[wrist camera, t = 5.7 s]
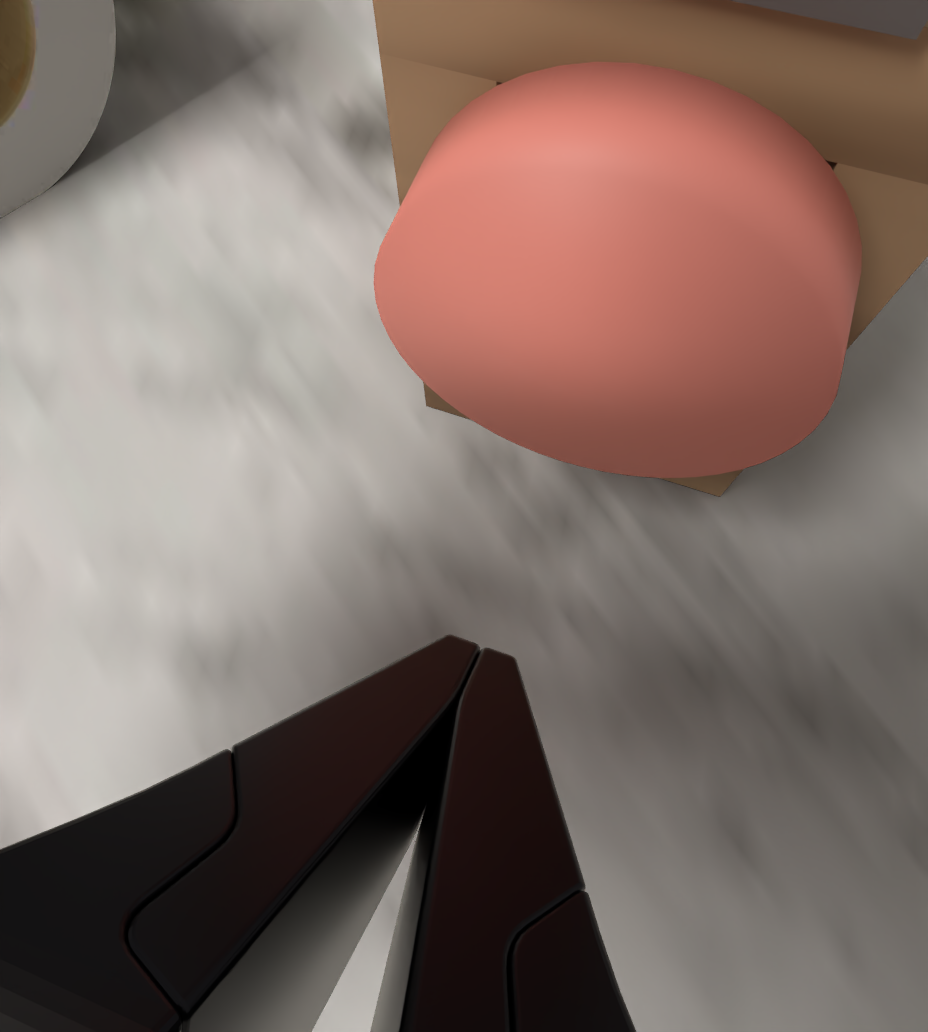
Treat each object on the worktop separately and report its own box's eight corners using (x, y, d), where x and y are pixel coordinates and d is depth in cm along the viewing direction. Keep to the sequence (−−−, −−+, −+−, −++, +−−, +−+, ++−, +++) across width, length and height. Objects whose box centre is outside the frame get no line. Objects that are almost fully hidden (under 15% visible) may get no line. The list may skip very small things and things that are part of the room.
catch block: (717, 504, 15) (1181, -23, 5) (423, 412, 16) (338, -183, 6) (771, 288, 17) (1180, -390, 7) (507, 218, 18) (545, -470, 8)
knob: (732, 514, 12) (974, 264, 6) (398, 410, 12) (334, 102, 7) (811, 184, 14) (1034, -210, 8) (529, 116, 15) (562, -287, 9)
